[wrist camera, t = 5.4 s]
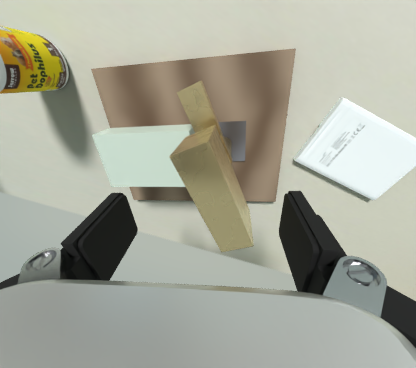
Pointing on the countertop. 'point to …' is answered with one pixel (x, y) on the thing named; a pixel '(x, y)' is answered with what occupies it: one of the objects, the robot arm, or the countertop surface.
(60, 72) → the supplement bottle
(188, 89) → the key
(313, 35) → the countertop surface
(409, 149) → the external hard drive
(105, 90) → the base
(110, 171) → the mint green block
